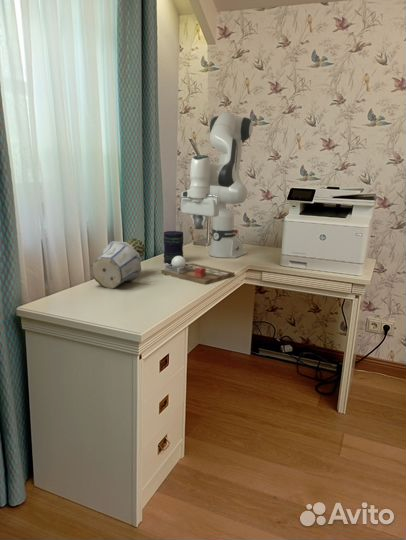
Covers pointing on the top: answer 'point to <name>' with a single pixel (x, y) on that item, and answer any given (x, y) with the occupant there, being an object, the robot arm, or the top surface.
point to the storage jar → (172, 245)
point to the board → (201, 279)
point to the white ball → (178, 262)
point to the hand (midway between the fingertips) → (199, 225)
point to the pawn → (198, 222)
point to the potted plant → (118, 263)
